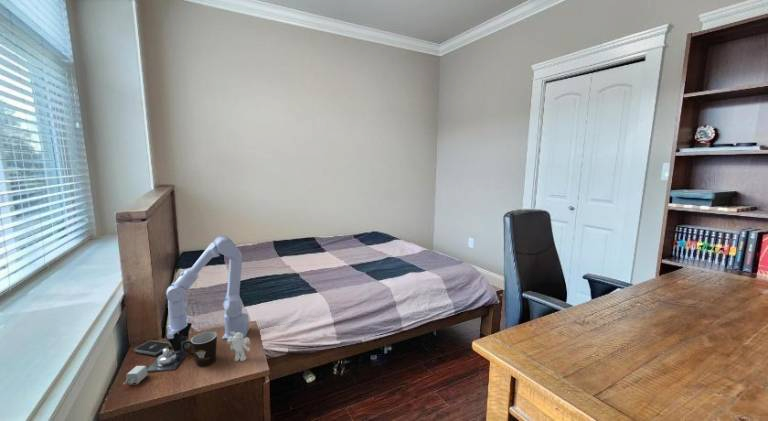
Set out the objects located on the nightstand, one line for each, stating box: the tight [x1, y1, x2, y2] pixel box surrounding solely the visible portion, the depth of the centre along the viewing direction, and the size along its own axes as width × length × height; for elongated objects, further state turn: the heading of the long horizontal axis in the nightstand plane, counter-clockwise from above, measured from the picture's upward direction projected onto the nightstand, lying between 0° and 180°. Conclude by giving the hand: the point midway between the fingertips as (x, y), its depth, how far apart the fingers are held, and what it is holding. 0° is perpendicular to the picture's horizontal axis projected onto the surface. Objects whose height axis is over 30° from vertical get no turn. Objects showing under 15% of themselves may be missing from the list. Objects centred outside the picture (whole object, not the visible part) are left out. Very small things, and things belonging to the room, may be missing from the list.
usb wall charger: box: [122, 365, 148, 386], centre depth 111 cm, size 4×7×4 cm, turn 1°
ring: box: [171, 336, 191, 353], centre depth 131 cm, size 6×6×4 cm
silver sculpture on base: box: [147, 348, 188, 373], centre depth 122 cm, size 10×10×6 cm
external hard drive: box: [134, 340, 172, 358], centre depth 131 cm, size 7×11×2 cm, turn 76°
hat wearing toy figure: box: [226, 331, 251, 362], centre depth 124 cm, size 9×4×12 cm, turn 81°
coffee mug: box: [182, 331, 218, 368], centre depth 123 cm, size 12×9×10 cm
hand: (181, 345), depth 131 cm, fingers closed on ring, 6 cm apart
